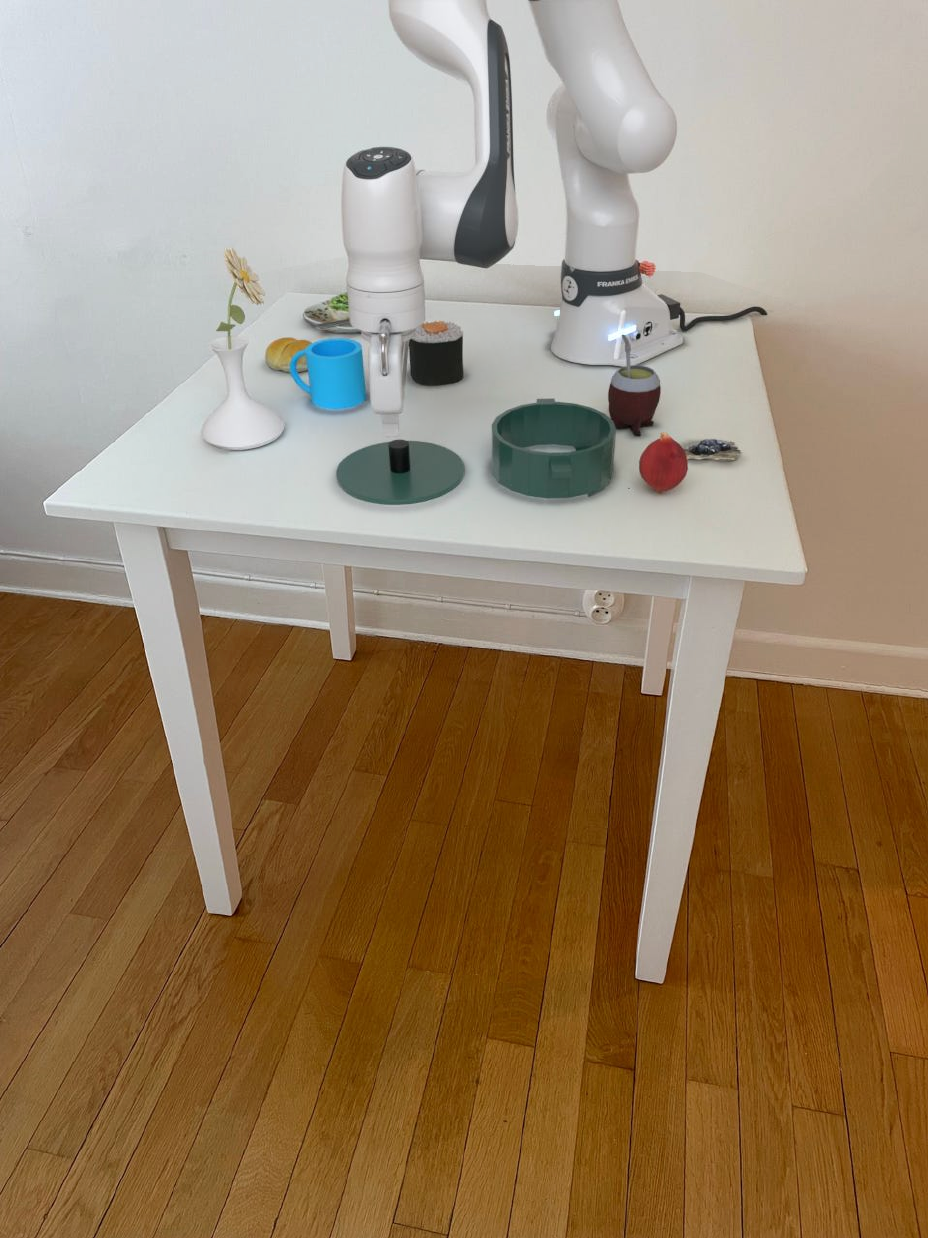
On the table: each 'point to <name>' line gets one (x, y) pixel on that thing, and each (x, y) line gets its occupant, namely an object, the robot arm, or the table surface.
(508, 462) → the pot
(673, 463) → the onion
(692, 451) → the blueberries
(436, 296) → the table surface
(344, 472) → the lid
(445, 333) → the sushi
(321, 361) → the mug
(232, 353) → the flower in vase
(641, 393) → the mate gourd
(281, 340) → the bread roll
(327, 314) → the salad plate
